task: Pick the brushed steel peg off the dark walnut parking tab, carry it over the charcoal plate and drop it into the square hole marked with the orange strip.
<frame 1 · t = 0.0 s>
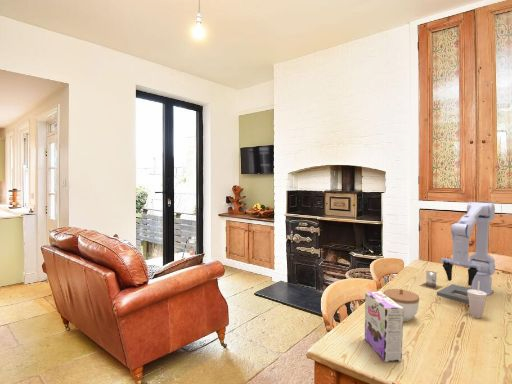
hand: (459, 282, 133), 10 cm above the table, tool pointing down, fingers open, 7 cm apart
lidded bowl: (400, 317, 122), on the table
smoothie: (476, 316, 123), on the table
steel peg: (431, 286, 155), point 1 cm above the table, touching parking tab
hole plate: (461, 297, 143), on the table
candy box: (382, 350, 98), on the table
parking tab: (430, 288, 155), on the table
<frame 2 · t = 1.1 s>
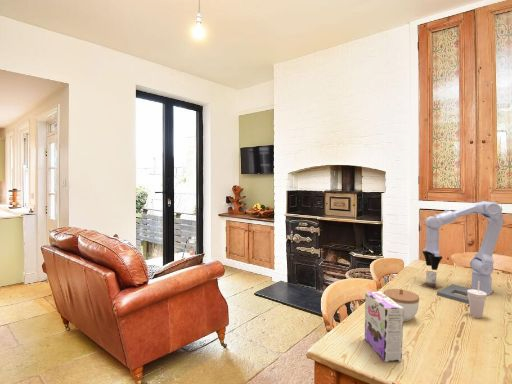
hand: (431, 267, 155), 10 cm above the table, tool pointing down, fingers open, 7 cm apart
nothing on the table moved.
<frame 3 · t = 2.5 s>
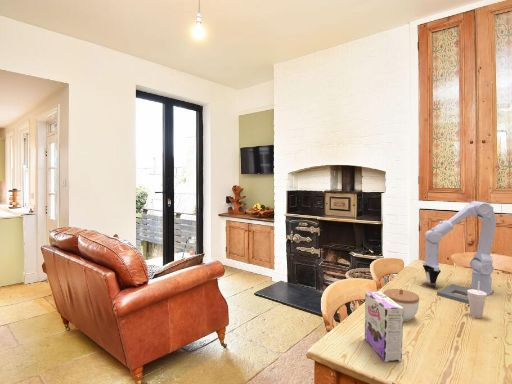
hand: (431, 281, 155), 3 cm above the table, tool pointing down, fingers closed on steel peg, 4 cm apart
steel peg: (431, 286, 155), point 1 cm above the table, touching gripper, parking tab
everything else where it was.
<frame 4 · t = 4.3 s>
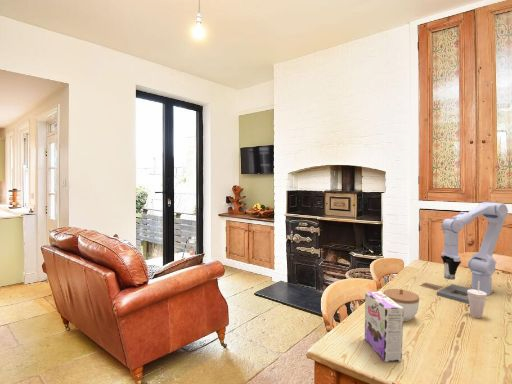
hand: (450, 273, 146), 10 cm above the table, tool pointing down, fingers closed on steel peg, 4 cm apart
steel peg: (449, 278, 146), point 8 cm above the table, touching gripper
everything else where it was.
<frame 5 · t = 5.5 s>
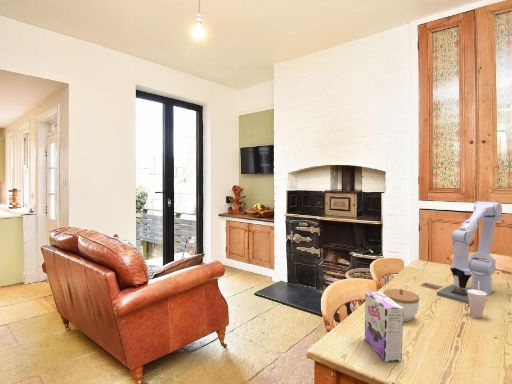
hand: (460, 285, 142), 6 cm above the table, tool pointing down, fingers closed on steel peg, 4 cm apart
steel peg: (459, 291, 142), point 3 cm above the table, touching gripper
everything else where it was.
when the fingers open (4 cm above the table, at t = 6.2 s): steel peg drops 2 cm, resting in hole plate.
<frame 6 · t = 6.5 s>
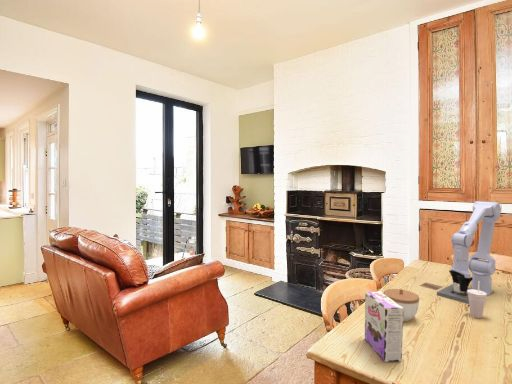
hand: (459, 288, 142), 4 cm above the table, tool pointing down, fingers open, 6 cm apart
steel peg: (459, 298, 142), resting in hole plate
everything else where it was.
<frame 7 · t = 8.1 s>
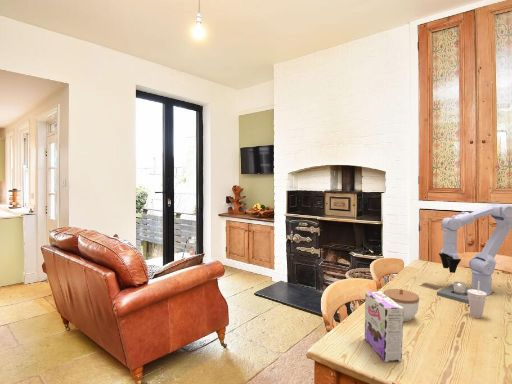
hand: (448, 270, 150), 10 cm above the table, tool pointing down, fingers open, 7 cm apart
nothing on the table moved.
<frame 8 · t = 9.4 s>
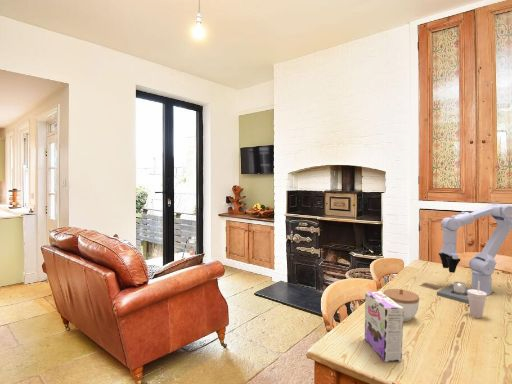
hand: (448, 270, 151), 10 cm above the table, tool pointing down, fingers open, 7 cm apart
nothing on the table moved.
at the end: steel peg 0.2 cm from the target spot on the hole plate, point 0.0 cm above the hole plate's base; steel peg tilted 0°; the gripper is holding nothing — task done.
